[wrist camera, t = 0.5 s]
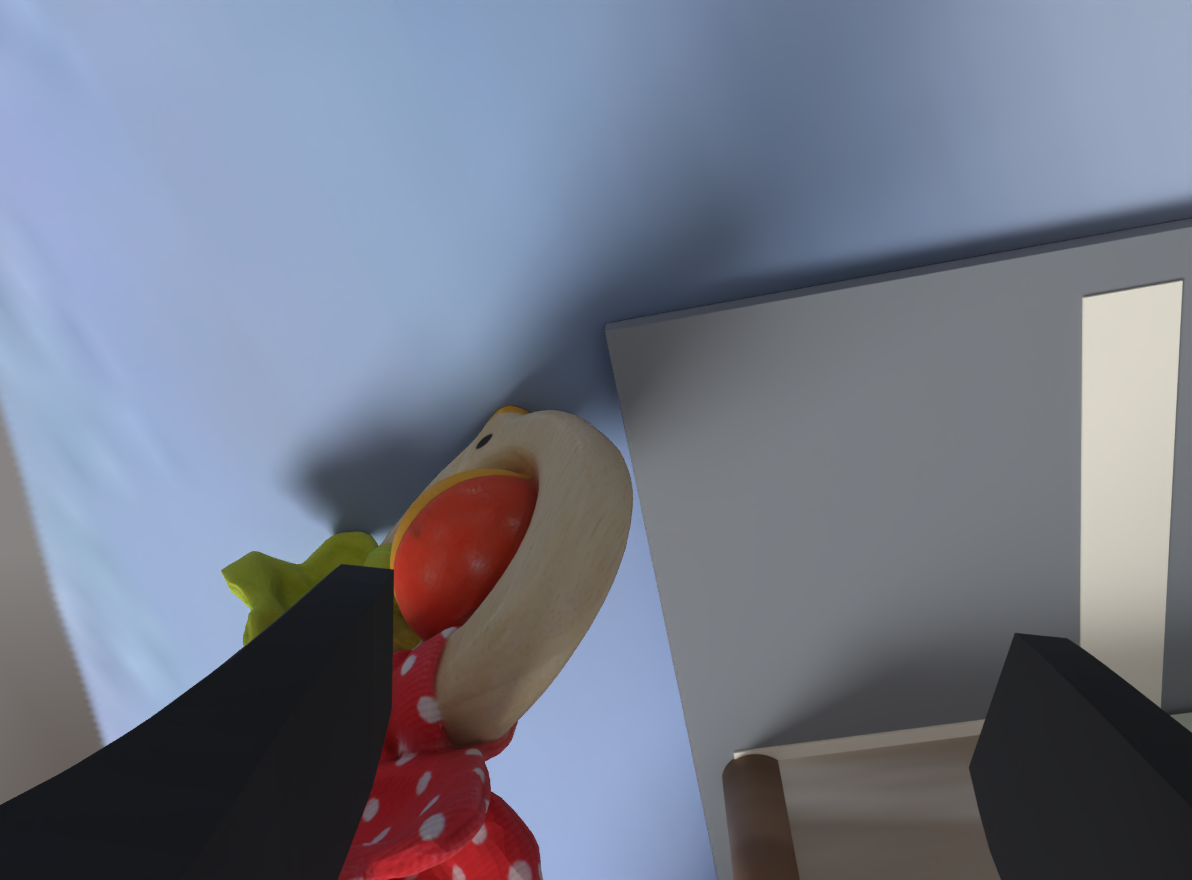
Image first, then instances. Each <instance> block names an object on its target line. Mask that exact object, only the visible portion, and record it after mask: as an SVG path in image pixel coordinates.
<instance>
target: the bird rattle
mask: <svg viewBox="0 0 1192 880" xmlns="http://www.w3.org/2000/svg"><path fill="white" fill-rule="evenodd" d="M632 508H633V490H632V483H631V478H630V474H629V470H628V468H627V465H626V463H625V460H624V458H623V456H622V454H621V453H620V451H619V450H618V449H617V447H616V446H615V445H614V444H613V443H612V442H611V441H610V440H609V439H608V438H607V437H606V436H605V435H604V434H602V433H601V432H600V431H598V430H597V429H596V428H595V427H593V426H592V425H591V424H589V423H588V422H586V421H585V420H583V419H581V418H580V417H578V416H576V415H573V414H571V413H568V412H564V411H559V410H544V411H536V412H532V413H529V412H528V411H526V410H524V409H522V408H519V407H516V406H506V407H503V408H501V409H499V410H498V411H497V412H496V413H495V414H494V415H493V416H492V417H491V418H490V420H489V421H488V422H487V423H486V425H485V426H484V428H483V429H482V430H481V432H480V433H479V434H478V436H477V437H476V438H475V439H474V440H473V441H472V442H471V443H470V444H469V446H468V447H467V448H466V449H464V450H463V451H462V452H461V453H460V454H459V455H458V456H457V457H456V458H455V459H454V460H453V461H452V462H451V463H449V464H448V465H447V466H446V467H445V468H444V469H443V470H442V471H441V472H440V473H439V474H438V475H437V476H436V477H435V478H434V479H433V481H432V482H431V483H430V484H429V485H428V486H427V487H426V488H425V489H424V490H423V492H422V493H421V494H420V495H419V496H418V497H417V499H416V500H415V501H414V502H413V503H412V504H411V506H410V507H409V508H408V509H407V511H406V512H405V513H404V515H403V516H402V517H401V518H400V520H399V521H398V522H397V523H396V525H395V526H394V527H393V528H392V530H391V531H390V532H389V534H388V535H387V536H386V538H385V539H384V541H383V542H382V544H381V545H380V546H378V544H377V542H376V541H375V539H374V538H373V537H372V536H371V535H369V534H366V533H364V532H357V531H354V532H342V533H338V534H335V535H334V536H332V537H330V538H329V539H327V540H326V541H325V542H324V543H323V544H322V545H321V546H320V547H319V548H318V549H317V550H316V551H315V552H314V553H313V554H312V555H311V556H310V557H309V558H308V559H307V560H306V561H305V562H304V563H302V564H293V563H289V562H286V561H283V560H280V559H276V558H273V557H271V556H268V555H266V554H263V553H261V552H257V551H252V552H250V553H248V554H247V555H245V556H243V557H242V558H240V559H239V560H237V561H236V562H234V563H232V564H230V565H228V566H227V567H225V568H224V569H222V570H221V572H222V574H223V576H224V578H225V580H226V582H227V584H228V587H229V589H230V590H231V592H232V593H233V594H235V595H236V596H237V597H238V598H240V599H241V600H242V601H243V602H244V603H245V605H246V606H247V607H248V608H250V609H251V612H250V613H249V615H248V621H247V624H246V627H245V632H244V635H243V645H244V646H245V645H247V644H248V643H249V642H250V641H252V640H253V639H254V638H255V637H256V636H258V635H259V634H260V633H261V632H263V631H264V630H265V629H266V628H267V627H268V626H270V625H271V624H272V623H273V622H274V621H275V620H277V619H278V618H279V617H280V616H281V615H282V614H284V613H285V612H286V611H287V610H288V609H289V608H290V607H292V606H293V605H294V604H295V603H296V602H297V601H298V600H300V599H301V598H302V597H303V596H304V595H305V594H306V593H307V592H309V591H310V590H311V589H312V588H313V587H314V586H315V585H316V584H318V583H319V582H320V581H321V580H322V579H323V578H325V577H326V576H327V575H328V574H329V573H330V572H332V571H333V570H334V569H335V568H337V567H338V566H339V565H341V564H347V565H356V566H366V567H376V568H386V569H394V609H393V674H392V712H391V716H390V720H389V724H388V728H387V732H386V736H385V741H384V745H383V749H382V753H381V757H380V761H379V765H378V768H377V772H376V776H375V780H374V784H373V788H372V791H371V793H370V796H369V799H368V802H367V804H366V807H365V810H364V812H363V815H362V818H361V820H360V823H359V826H358V828H357V831H356V834H355V836H354V839H353V841H352V844H351V847H350V849H349V852H348V855H347V857H346V860H345V862H344V865H343V868H342V870H341V873H340V875H339V878H338V880H543V877H542V872H541V862H540V852H539V846H538V844H537V842H536V839H535V837H534V835H533V834H532V832H531V831H530V830H529V828H528V827H527V826H526V824H525V823H524V822H523V821H522V819H521V818H520V817H519V816H518V815H517V813H516V812H515V811H514V810H513V809H512V808H511V807H510V806H509V805H508V804H507V803H506V802H505V801H504V800H503V799H502V798H501V797H499V796H498V795H496V794H494V793H493V792H491V786H490V778H489V772H488V770H487V767H486V765H485V761H487V760H489V759H490V758H492V757H494V756H496V755H498V754H500V753H501V752H502V751H503V750H504V749H505V748H506V747H507V746H508V745H509V743H510V742H511V740H512V738H513V735H514V732H515V729H516V726H517V723H518V720H519V719H520V718H521V717H522V716H523V715H524V714H525V713H526V712H527V711H528V709H529V708H530V707H531V706H532V705H533V704H534V703H535V702H536V701H537V700H538V699H539V697H540V696H541V695H542V694H543V693H544V692H545V691H546V689H547V688H548V687H549V685H550V684H551V683H552V682H553V680H554V679H555V678H556V677H557V675H558V674H559V673H560V671H561V670H562V668H563V667H564V666H565V664H566V663H567V661H568V660H569V659H570V657H571V656H572V654H573V653H574V651H575V650H576V648H577V646H578V645H579V643H580V642H581V640H582V639H583V637H584V636H585V634H586V633H587V631H588V630H589V628H590V626H591V625H592V623H593V621H594V619H595V617H596V616H597V614H598V612H599V610H600V608H601V607H602V605H603V603H604V601H605V599H606V597H607V595H608V592H609V590H610V588H611V586H612V584H613V582H614V579H615V577H616V574H617V572H618V569H619V566H620V563H621V560H622V557H623V554H624V552H625V549H626V544H627V539H628V534H629V530H630V524H631V516H632Z"/></svg>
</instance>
